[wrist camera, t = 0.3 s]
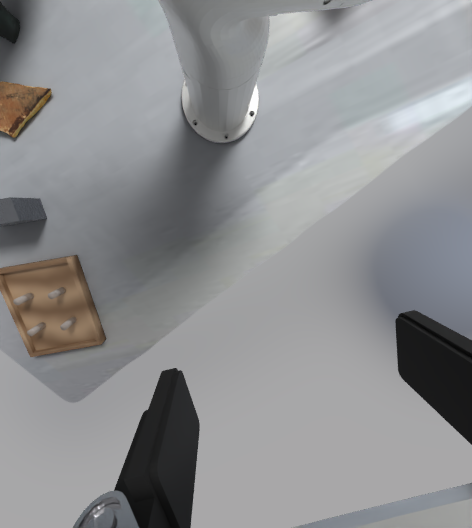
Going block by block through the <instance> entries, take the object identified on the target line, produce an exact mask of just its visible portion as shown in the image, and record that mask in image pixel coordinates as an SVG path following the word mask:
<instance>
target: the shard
mask: <svg viewBox="0 0 472 528" xmlns="http://www.w3.org/2000/svg"><path fill="white" fill-rule="evenodd" d="M50 95H51V89H48V88H41V87H29V86H24V85H20V84H14V83H8V82H0V131H3V132H5V133H8V134H9V135H10V136H11V137H14V138H15V137H17V136H18V133H19V131H20V130H21V128H22V127H23V126H24V125H25V123H26V122H27V121H28V120H29V119H30V118H32V117H33V116H34V115H35V114H36V113H37V111H39V110H40V108H41V107H42V106H43V105H44V104H45V103H46V101H47V99H48V98H49V97H50Z"/></svg>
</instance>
